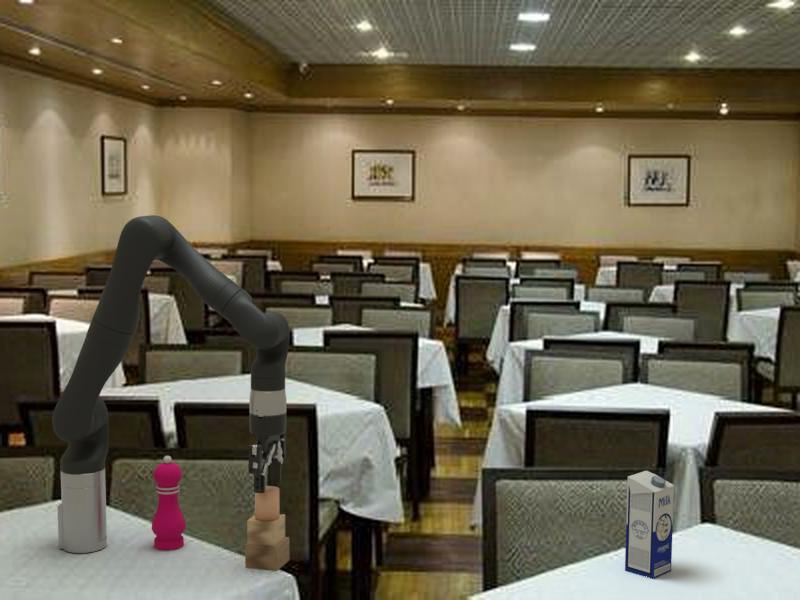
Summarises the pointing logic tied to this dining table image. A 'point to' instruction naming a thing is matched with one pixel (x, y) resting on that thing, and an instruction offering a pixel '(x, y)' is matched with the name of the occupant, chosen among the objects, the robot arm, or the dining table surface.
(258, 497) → the rounded stamp handle
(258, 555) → the tower base
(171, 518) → the pepper mill
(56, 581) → the dining table surface
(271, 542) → the tower top
